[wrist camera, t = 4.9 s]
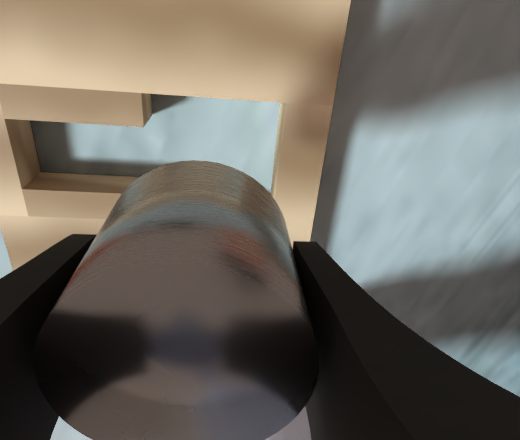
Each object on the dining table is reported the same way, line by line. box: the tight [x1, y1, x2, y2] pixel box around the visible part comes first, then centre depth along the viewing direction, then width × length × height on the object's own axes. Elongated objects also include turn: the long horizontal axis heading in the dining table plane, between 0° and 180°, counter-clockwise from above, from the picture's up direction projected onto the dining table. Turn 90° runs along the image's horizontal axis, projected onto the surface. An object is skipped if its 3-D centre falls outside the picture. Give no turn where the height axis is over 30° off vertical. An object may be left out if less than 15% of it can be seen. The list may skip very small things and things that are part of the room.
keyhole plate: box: [0, 0, 351, 271], centre depth 18 cm, size 16×15×2 cm
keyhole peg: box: [33, 161, 319, 440], centre depth 10 cm, size 5×5×7 cm
